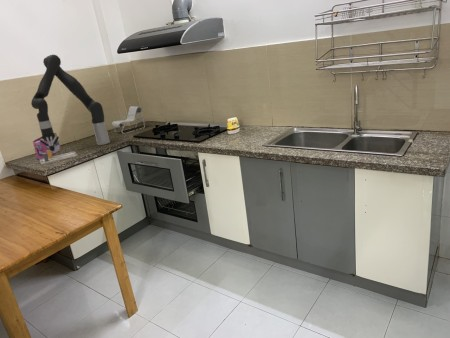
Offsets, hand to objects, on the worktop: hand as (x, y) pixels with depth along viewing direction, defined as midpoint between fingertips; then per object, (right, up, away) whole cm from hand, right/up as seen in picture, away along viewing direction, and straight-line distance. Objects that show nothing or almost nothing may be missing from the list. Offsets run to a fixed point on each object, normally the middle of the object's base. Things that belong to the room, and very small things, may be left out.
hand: (52, 150), depth 252 cm
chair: (+38, +22, +65) cm, 78 cm away
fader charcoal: (-1, -7, -6) cm, 10 cm away
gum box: (-10, -2, +16) cm, 19 cm away
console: (+4, -5, +1) cm, 7 cm away
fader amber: (-2, -5, 0) cm, 5 cm away
